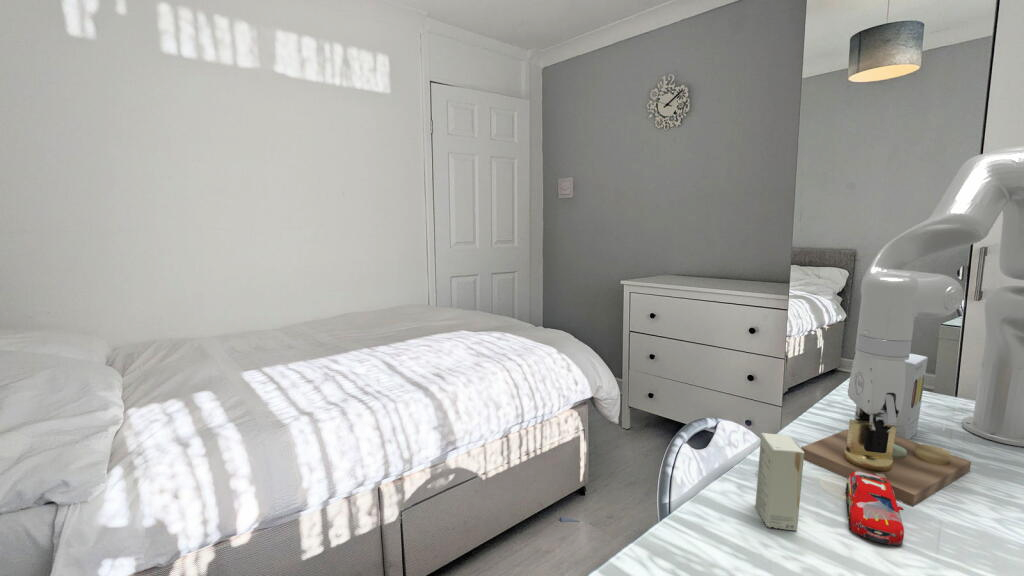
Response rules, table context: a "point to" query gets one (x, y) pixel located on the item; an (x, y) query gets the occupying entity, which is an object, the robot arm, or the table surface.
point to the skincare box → (779, 481)
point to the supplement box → (910, 397)
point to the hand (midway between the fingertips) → (869, 444)
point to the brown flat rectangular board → (895, 466)
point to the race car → (873, 508)
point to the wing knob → (860, 455)
